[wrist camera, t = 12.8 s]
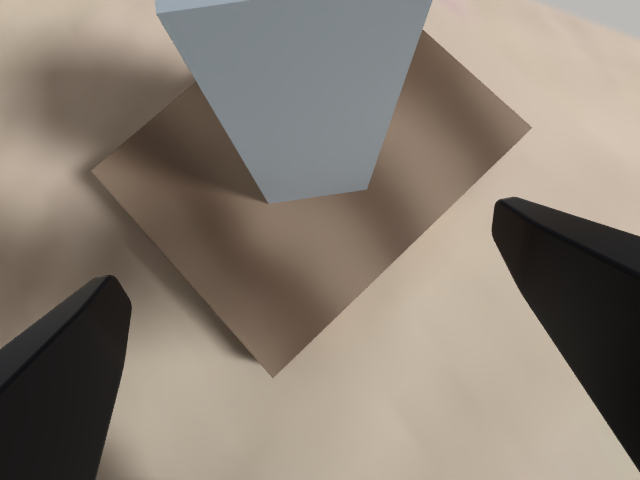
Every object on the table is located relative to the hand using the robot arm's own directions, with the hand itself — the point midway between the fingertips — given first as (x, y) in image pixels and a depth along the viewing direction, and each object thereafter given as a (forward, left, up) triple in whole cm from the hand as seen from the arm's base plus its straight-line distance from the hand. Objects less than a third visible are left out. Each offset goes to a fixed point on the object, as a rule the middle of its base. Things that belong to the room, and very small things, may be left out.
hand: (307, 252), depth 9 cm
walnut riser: (+4, +5, -12) cm, 14 cm away
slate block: (+4, +5, -10) cm, 12 cm away
